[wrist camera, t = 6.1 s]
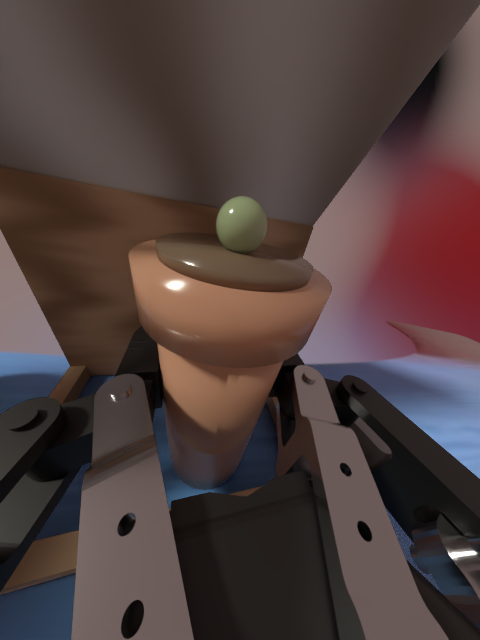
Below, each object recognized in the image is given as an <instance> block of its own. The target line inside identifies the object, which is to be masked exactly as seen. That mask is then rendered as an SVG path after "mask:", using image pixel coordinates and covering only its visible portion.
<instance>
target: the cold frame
mask: <svg viewBox="0 0 480 640" xmlns="http://www.w3.org/2000/svg"><path fill="white" fill-rule="evenodd" d="M479 5H480V0H0V229H1V231H2V233H3V235H4V237H5V239H6V241H7V243H8V245H9V247H10V249H11V251H12V253H13V255H14V257H15V259H16V261H17V263H18V265H19V267H20V268H21V270H22V272H23V274H24V276H25V278H26V280H27V282H28V284H29V286H30V288H31V290H32V292H33V294H34V296H35V298H36V300H37V302H38V304H39V305H40V307H41V310H42V311H43V313H44V315H45V317H46V319H47V321H48V323H49V325H50V327H51V329H52V331H53V333H54V335H55V337H56V339H57V341H58V343H59V345H60V347H61V349H62V351H63V352H64V355H65V357H66V359H67V361H68V362H69V364H70V367H69V369H68V370H67V372H66V373H65V374H64V376H63V377H62V378H61V380H60V381H59V383H58V384H57V385H56V387H55V388H54V389H53V391H52V392H51V394H50V395H49V396H48V397H51V398H54V399H56V400H57V401H58V402H59V403H60V404H64V403H67V402H70V401H73V400H77V399H78V397H79V395H80V394H81V392H82V390H83V388H84V387H85V385H86V383H87V381H88V380H89V378H90V376H97V375H115V374H116V372H117V370H118V368H119V365H120V363H121V361H122V358H123V356H124V354H125V352H126V349H127V348H128V345H129V342H130V340H131V338H132V336H133V333H134V332H135V331H136V330H137V329H139V328H140V327H141V326H142V325H141V323H140V320H139V316H138V310H137V304H136V298H135V292H134V286H133V280H132V274H131V268H130V262H129V256H128V255H129V251H130V250H131V249H132V248H133V247H135V246H136V245H138V244H140V243H143V242H146V241H150V240H156V239H157V238H158V237H160V236H162V235H166V234H171V233H207V234H216V235H217V230H216V220H217V216H218V213H219V211H220V209H221V207H222V206H223V205H224V204H225V203H226V202H227V201H228V200H230V199H232V198H234V197H238V196H246V197H250V198H252V199H254V200H255V201H257V202H258V203H259V204H260V205H261V207H262V208H263V210H264V212H265V214H266V218H267V232H266V236H265V238H264V240H263V242H262V243H264V244H267V245H271V246H274V247H277V248H280V249H283V250H286V251H288V252H291V253H293V254H295V255H298V256H300V257H302V258H303V255H304V252H305V250H306V247H307V244H308V241H309V238H310V235H311V233H312V230H313V227H312V226H313V225H314V224H315V222H316V221H317V220H318V218H319V217H320V216H321V215H322V213H323V212H324V211H325V209H326V208H327V207H328V205H329V204H330V203H331V201H332V200H333V198H334V197H335V196H336V195H337V193H338V192H339V191H340V189H341V188H342V187H343V185H344V184H345V183H346V181H347V180H348V179H349V177H350V176H351V175H352V173H353V172H354V171H355V169H356V168H357V167H358V165H359V164H360V163H361V161H362V160H363V159H364V157H365V156H366V155H367V153H368V152H369V151H370V150H371V148H372V147H373V146H374V144H375V143H376V141H377V140H378V139H379V138H380V136H381V135H382V134H383V132H384V131H385V129H386V128H387V127H388V126H389V124H390V123H391V122H392V120H393V119H394V118H395V116H396V115H397V114H398V112H399V111H400V110H401V108H402V107H403V106H404V104H405V103H406V102H407V100H408V99H409V98H410V96H411V95H412V94H413V93H414V91H415V90H416V88H417V87H418V86H419V84H420V83H421V82H422V81H423V79H424V78H425V76H426V75H427V74H428V72H429V71H430V70H431V69H432V67H433V66H434V65H435V63H436V62H437V61H438V59H439V58H440V57H441V55H442V54H443V53H444V51H445V50H446V49H447V47H448V46H449V45H450V43H451V42H452V41H453V39H454V38H455V37H456V35H457V34H458V33H459V31H460V30H461V29H462V28H463V26H464V25H465V23H466V22H467V21H468V20H469V18H470V17H471V16H472V14H473V13H474V11H475V10H476V9H477V8H478V6H479ZM277 403H278V399H277V397H270V398H269V397H268V398H267V404H268V407H269V410H270V413H271V416H272V418H273V421H274V424H275V427H276V430H277V411H276V406H277ZM277 433H278V430H277ZM260 487H262V486H260ZM260 487H256V488H252V489H248V490H243V491H239V492H235V493H231V494H228V495H237V496H248V495H250V494H252V493H253V492H254V491H256V490H257V489H259V488H260ZM170 510H171V508H169V511H170ZM78 537H79V530H77V531H73V532H69V533H65V534H61V535H56V536H52V537H48V538H44V539H40V540H36V541H33V543H32V544H31V546H30V547H29V549H28V550H27V552H26V554H25V555H24V557H23V558H22V560H21V561H20V563H19V564H18V566H17V568H16V569H15V571H14V572H13V574H12V575H11V577H10V578H9V580H8V582H7V583H6V585H5V586H4V588H3V589H2V591H1V592H0V595H2V594H6V593H9V592H12V591H16V590H19V589H23V588H26V587H29V586H33V585H36V584H40V583H43V582H47V581H50V580H53V579H57V578H60V577H64V576H67V575H71V574H74V573H76V565H77V551H78Z"/></svg>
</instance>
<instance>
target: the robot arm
mask: <svg viewBox="0 0 480 640" xmlns="http://www.w3.org/2000/svg"><path fill="white" fill-rule="evenodd" d="M268 397H269V398H270V397H277V399H278V403H277V406H276V411H277V430H278V455H277V460H276V477H275V478H274V479H272V480H271V481H269V482H268V483H266V484H265V485H263V486H262V487H260V488H259V489H257V490H256V491H254V492H253V493H252V494H250V495H248V496H237V495H228V494H220V493H212V492H208V493H204V494H199V495H195V496H191V497H187V498H182V499H178V500H174V501H171V510H170V511H169V508H168V503H167V498H166V492H165V487H164V482H163V477H162V472H161V467H160V461H159V456H158V451H157V446H156V441H155V436H154V431H153V425H152V422H153V416H154V411H155V409H157V408H162V403H163V390H162V381H161V372H160V363H159V353H158V344H157V342H156V341H154V340H153V339H152V338H151V337H150V336H149V335H148V334H147V333H146V331H145V330H144V329H143V327H142V326H141V327H140V328H139V329H137V330H136V331H135V332H134V333H133V336H132V338H131V340H130V342H129V345H128V348H127V349H126V352H125V354H124V356H123V358H122V361H121V363H120V365H119V368H118V370H117V372H116V374H115V376H114V377H113V378H111V379H109V380H108V381H106V382H105V383H104V384H103V385H102V386H101V387H100V388H99V389H98V391H97V392H96V393H94V394H92V395H89V396H86V397H83V398H80V399H77V400H73V401H70V402H67V403H64V404H60V403H59V402H58V401H57V400H56V399H54V398H51V397H39V398H34V399H30V400H27V401H24V402H22V403H20V404H17V405H15V406H13V407H12V408H10V409H8V410H7V411H5V412H4V413H2V414H1V415H0V592H1V591H2V589H3V588H4V586H5V585H6V583H7V582H8V580H9V578H10V577H11V575H12V574H13V572H14V571H15V569H16V568H17V566H18V564H19V563H20V561H21V560H22V558H23V557H24V555H25V554H26V552H27V550H28V549H29V547H30V546H31V544H32V543H33V541H34V540H35V538H36V536H37V535H38V533H39V532H40V530H41V529H42V527H43V526H44V524H45V522H46V521H47V519H48V518H49V516H50V515H51V513H52V512H53V510H54V508H55V507H56V505H57V504H58V502H59V501H60V499H61V498H62V496H63V494H64V493H65V491H66V490H67V488H68V487H69V485H70V484H71V482H72V480H73V479H74V477H75V476H76V474H77V473H78V471H79V470H80V468H81V466H82V465H84V464H86V463H89V462H91V461H92V462H91V466H90V468H89V469H87V471H86V473H85V475H84V479H83V485H82V495H81V509H80V523H79V537H78V551H77V565H76V579H75V593H74V607H73V621H72V635H71V640H480V479H479V478H478V477H477V476H476V475H474V474H473V473H472V472H471V471H470V470H468V469H467V468H466V467H465V466H464V465H463V464H461V463H460V462H459V461H458V460H457V459H456V458H454V457H453V456H452V455H451V454H450V453H448V452H447V451H446V450H445V449H444V448H443V447H441V446H440V445H439V444H438V443H437V442H435V441H434V440H433V439H432V438H431V437H430V436H428V435H427V434H426V433H425V432H424V431H423V430H421V429H420V428H419V427H418V426H417V425H415V424H414V423H413V422H412V421H411V420H410V419H408V418H407V417H406V416H405V415H404V414H403V413H401V412H400V411H399V410H398V409H397V408H395V407H394V406H393V405H392V404H391V403H390V402H388V401H387V400H386V399H385V398H384V397H382V396H381V395H380V394H379V393H378V392H377V391H375V390H374V389H373V388H372V387H371V386H370V385H368V384H367V383H366V382H365V381H363V380H361V379H360V378H357V377H355V376H350V375H347V376H344V377H343V378H342V380H341V381H340V382H337V381H333V380H328V379H324V378H323V376H322V375H321V374H320V373H319V372H318V371H317V370H316V369H314V368H312V367H310V366H307V365H305V364H304V363H303V361H302V360H301V358H300V357H299V355H298V354H296V355H294V356H292V357H291V358H289V359H287V360H284V361H283V363H282V366H281V368H280V370H279V373H278V375H277V377H276V380H275V382H274V384H273V387H272V389H271V391H270V394H269V396H268ZM359 417H360V418H361V419H362V420H363V421H364V422H365V423H366V424H367V425H368V426H369V427H370V428H371V429H372V430H373V431H374V432H375V433H376V434H377V435H378V436H379V437H380V438H381V439H382V440H383V441H384V442H385V443H386V444H387V446H388V447H389V448H390V450H391V452H392V453H391V454H387V453H384V452H383V451H381V450H380V449H379V448H378V447H377V446H376V445H375V444H374V443H373V442H372V441H371V440H370V439H369V438H368V436H367V435H366V434H365V433H364V432H363V431H362V430H361V429H360V428H359V427H358V426H357V425H356V424H355V423H354V422H355V421H356V420H357V419H358V418H359ZM385 507H386V508H387V510H388V511H389V512H390V514H391V515H392V516H393V517H394V519H395V520H396V521H397V522H398V524H399V525H400V526H401V528H402V529H403V530H404V531H405V533H406V534H407V535H408V536H409V538H410V539H411V540H412V542H413V543H414V544H412V545H411V546H410V553H411V556H412V558H413V560H414V562H415V564H416V565H417V566H418V568H419V569H420V570H421V571H422V572H424V573H426V574H431V575H432V577H433V578H434V580H435V581H436V583H437V585H438V586H439V588H440V590H441V592H442V593H441V592H440V591H438V590H437V589H436V588H435V587H434V586H433V585H432V584H431V583H430V582H429V581H428V580H427V579H426V578H425V577H424V576H423V575H422V574H421V573H420V572H418V571H417V570H416V569H415V568H414V567H413V566H412V565H411V564H410V563H409V562H408V561H407V560H406V559H405V556H404V554H403V551H402V549H401V546H400V544H399V541H398V539H397V536H396V534H395V531H394V529H393V526H392V524H391V521H390V519H389V516H388V514H387V511H386V509H385Z"/></svg>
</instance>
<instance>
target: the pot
mask: <svg viewBox="0 0 480 640" xmlns="http://www.w3.org/2000/svg"><path fill="white" fill-rule="evenodd" d="M216 230H217V235H216V234H207V233H171V234H166V235H162V236H160V237H158V238H157V239H156V240H150V241H146V242H143V243H140V244H138V245H136V246H135V247H133V248H132V249H131V250H130V251H129V255H128V256H129V262H130V268H131V274H132V280H133V286H134V292H135V298H136V304H137V310H138V316H139V320H140V323H141V325H142V327H143V329H144V330H145V331H146V333H147V334H148V335H149V336H150V337H151V338H152V339H153V340H154V341H156V342H157V344H158V353H159V363H160V372H161V381H162V390H163V399H164V408H165V417H166V426H167V436H168V445H169V454H170V461H171V465H172V467H173V470H174V472H175V474H176V475H177V476H178V478H179V479H180V480H181V481H182V482H183V483H185V484H186V485H188V486H190V487H192V488H195V489H203V490H206V489H212V488H215V487H217V486H219V485H221V484H223V483H224V482H226V481H227V480H228V479H229V478H230V477H231V476H232V475H233V474H234V472H235V471H236V469H237V468H238V466H239V463H240V461H241V459H242V457H243V454H244V452H245V450H246V447H247V445H248V443H249V440H250V438H251V436H252V433H253V431H254V429H255V426H256V424H257V422H258V419H259V417H260V415H261V412H262V410H263V408H264V405H265V403H266V401H267V398H268V396H269V394H270V391H271V389H272V387H273V384H274V382H275V380H276V377H277V375H278V373H279V370H280V368H281V366H282V363H283V361H284V360H287V359H289V358H291V357H292V356H294V355H296V354H297V353H298V352H299V351H300V350H301V349H302V348H303V347H304V346H305V344H306V343H307V341H308V339H309V337H310V335H311V333H312V331H313V329H314V326H315V325H316V322H317V320H318V318H319V316H320V314H321V312H322V310H323V308H324V306H325V304H326V302H327V300H328V298H329V296H330V294H331V291H332V286H331V283H330V282H329V280H328V279H327V278H326V277H325V276H324V275H322V274H321V273H320V272H319V271H317V270H315V269H314V268H313V266H312V265H311V264H310V263H309V262H308V261H307V260H305V259H303V258H302V257H300V256H298V255H295V254H293V253H291V252H288V251H286V250H283V249H280V248H277V247H274V246H271V245H267V244H264V243H262V242H263V240H264V238H265V236H266V232H267V218H266V214H265V212H264V210H263V208H262V207H261V205H260V204H259V203H258V202H257V201H255V200H254V199H252V198H250V197H246V196H238V197H234V198H232V199H230V200H228V201H227V202H226V203H225V204H224V205H223V206H222V207H221V209H220V211H219V213H218V216H217V220H216Z"/></svg>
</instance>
